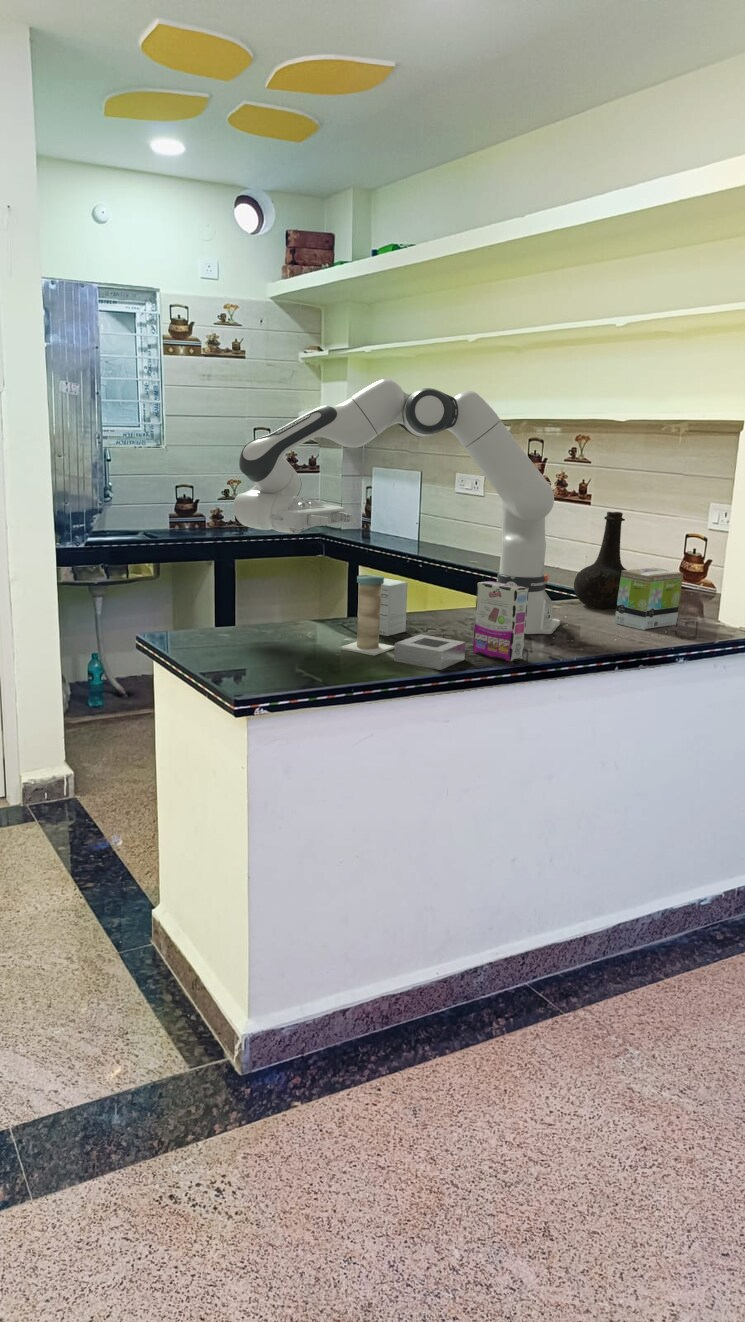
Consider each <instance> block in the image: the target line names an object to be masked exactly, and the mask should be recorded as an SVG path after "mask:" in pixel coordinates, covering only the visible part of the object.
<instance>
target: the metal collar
mask: <svg viewBox="0 0 745 1322" xmlns="http://www.w3.org/2000/svg"><path fill="white" fill-rule="evenodd" d="M394 646H395V648H394V653H393V662H397V663H403V664H406V665H407V664H408V665H412V666H417V667H424V668H428V669H433V670H438V671H439V670H440V671H441V670H444V669H446V668H448V667H450V666H451V667H452V666H453V665H455V664H458V663H460V662H462V661H464V660H465V657H466V656H465V655H466V641H462V640H456V639H451V638H445V637H444V638H443V637H437V636H432V635H427V634H417V635H415V636H411V637H408V638H405V639H403V640H399V641H397V642H394Z"/></svg>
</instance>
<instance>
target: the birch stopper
mask: <svg viewBox="0 0 745 1322" xmlns="http://www.w3.org/2000/svg"><path fill="white" fill-rule="evenodd" d="M384 578H385V577H384V576H382V575H375V574H359V575H357V576H356V583H358V604H357V607H358V608H357V612H358V613H357V629H356V630H357V631H356V632H357V633H356V642H357V647H358V648H361V649H377V648H378V647H379V643H380V634H379V629H380V606H381V584H383V583H384Z"/></svg>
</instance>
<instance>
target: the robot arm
mask: <svg viewBox="0 0 745 1322" xmlns="http://www.w3.org/2000/svg"><path fill="white" fill-rule="evenodd" d="M397 424H398V425H399V426H400V427H401V428H403V429H404V430H405V431H406V432H407V433H409V434H410V435H413V436H415V437H418V438H428V437H429V438H430V437H433V436H436V435H438V433H439V434H440V432H442V431H448V432H450V433H451V434H453V435H454V437H456V439H457V440H458V442H459V443H460V444H461V446H462V448H463V449H464V450H465V451H466V453H467V454H468V456H469V457H470V459H471V460H472V461H473V463H474V464H475V465H476V467H477V468H478V470H479V471H480V473H482V475H483V476H484V477H485V479H486V480H487V481H488V482H489V484H490V485H491V486H492V488H493V489H494V490H495V491H496V493H497V494H498V495H499V496H500V498H501V499H502V500H501V549H500V562H499V571H498V573H497V577H496V582H499V583H505V584H510V585H517V586H522V587H527V588H529V591H528V603H527V615H526V627H525V635H536V634H537V635H538V634H540V635H542V634H543V635H552V634H553V633H554V631H556V629H557V628H558V627H559V626H560V625H561V620H560V619H558V618H553V607H554V605H553V601H552V599H551V598H550V596H549V595H548V594H547V592H546V590H545V589H546V583H548V581H549V575H548V574H544V569H545V560H546V548H547V547H546V545H547V541H546V517H547V516H548V515H549V514H550V513H551V512H552V509H553V507H554V504H555V494H554V490H553V488H552V486H551V485H550V484H549V482H548V481H547V479H546V478H545V476H544V475H543V473H541V471H540V470H539V469H538V468H537V466H536V465H535V464H534V462H533V461H532V459H530V458H529V456H528V455H527V454H526V452H525V451H524V450H523V448H522V447H521V446H520V445H519V443H518V442H517V441H516V440H515V438H514V436H513V435H512V434H511V432H510V431H509V430H508V429H509V428H507V427H506V425H505V424H504V423H503V421H502V420H501V418H500V417H499V416H498V414H497V413H496V412H495V410H494V409H493V408H492V407H491V406H490V404H489V403H488V402H487V401H486V400H484V398H483V397H481V396H480V394H478V393H477V392H476V391H473V390H465V391H462V392H460V393H457V394H455V396H452V395H449V394H447V393H445V392H443V391H441V390H438V389H436V388H431V387H430V388H429V387H428V388H427V387H426V388H420V389H418V390H416V391H414V392H413V393H407V392H406V391H404V390H403V389H402V387H401V386H400V385H399V384H398V383H397V382H396V381H394V380H392V379H390V378H382V379H378V381H375V382H373V383H372V384H368V386H366V387H364V388H363V389H361V390H359V391H358V392H356V393H355V394H353V395H352V396H351V397H349V398H348V399H346V400H344V401H343V402H341V403H339V404H337V405H336V404H335V405H333V406H330V405H321V406H319V407H316V408H314V409H311V410H310V411H309V412H306V413H304V414H303V415H301V416H299V417H296V418H295V419H294V420H292V421H290V422H289V423H286V424H285V425H283V426H281V427H279V428H278V429H276V430H274V431H272V432H270V433H269V434H265V435H263V436H259V437H258V438H255V439H253V440H251V441H249V442H248V443H246V444H245V445H244V446H243V448H242V451H241V452H240V456H239V461H238V463H239V470H240V471H241V473H242V474H244V475H245V476H246V477H247V478H248V479H249V480H250V481H252V483H253V484H254V485H253V486H252V487H251V488H250V489H248V490H247V491H245V492H241V493H239V494H237V495H236V496H235V497H234V499H233V500H234V501H233V513H234V516H235V518H236V520H237V521H238V522H239V524H241V525H243V526H245V527H248V528H252V529H255V530H260V531H261V530H262V531H271V530H274V531H276V532H279V533H285V534H294V535H296V534H297V535H298V534H300V533H302V531H305V530H307V529H309V528H314V527H321V526H330V525H338V524H344V523H353V522H354V515H353V514H351V513H347V510H346V508H345V507H343V506H340V505H335V504H329V503H324V502H319V501H318V499H314V498H313V499H311V498H304V497H302V496H299V495H300V493H301V490H302V478H301V477H300V475H299V474H298V472H297V471H296V469H295V468H294V467H293V466H292V465H291V464H290V463H289V461H288V460H287V459H286V457H285V455H286V454H287V453H288V452H291V451H292V450H294V449H296V448H298V447H299V446H301V445H303V444H304V443H306V442H308V441H310V440H311V439H314V438H324V439H328V440H330V441H332V442H334V443H336V444H338V445H340V446H343V447H345V448H349V449H356V448H361V447H363V446H365V445H366V444H368V443H370V442H371V441H372V440H373V439H375V438H376V437H378V436H379V435H381V434H382V433H383V432H384V431H386V430H387V429H388V428H390V427H391V426H394V425H397Z"/></svg>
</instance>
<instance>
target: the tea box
mask: <svg viewBox="0 0 745 1322" xmlns="http://www.w3.org/2000/svg"><path fill="white" fill-rule="evenodd" d="M683 579H684V572H680V571H674V570H671V569H670V570H669V569H663V568H658V567H647V568H644V567H643V568H635V569H627V570H622V572H621V579H620V586H619V593H618V600H617V608H616V610H615V616H614V624H617V625H621V626H625V627H629V628H632V629H638V630H642V631H645V630H648V629H655V628H660V627H662V628H663V627H667V626H668V627H669V626H676V625H677V620H678V613H679V606H680V600H681V595H682V594H681V593H682V587H683V586H682V585H683V581H684V580H683Z"/></svg>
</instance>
